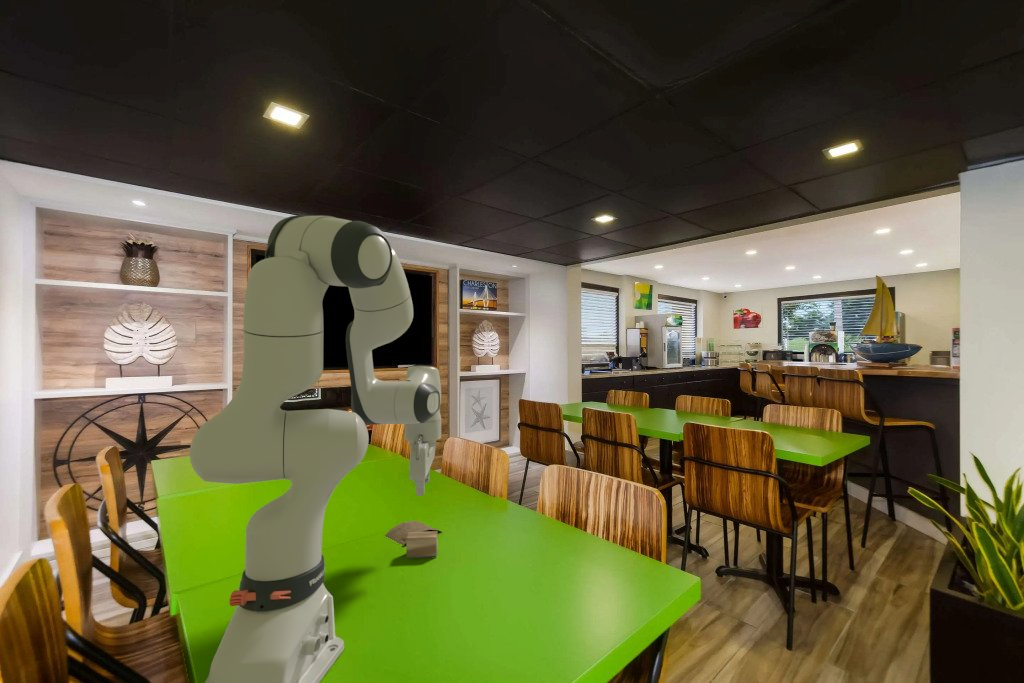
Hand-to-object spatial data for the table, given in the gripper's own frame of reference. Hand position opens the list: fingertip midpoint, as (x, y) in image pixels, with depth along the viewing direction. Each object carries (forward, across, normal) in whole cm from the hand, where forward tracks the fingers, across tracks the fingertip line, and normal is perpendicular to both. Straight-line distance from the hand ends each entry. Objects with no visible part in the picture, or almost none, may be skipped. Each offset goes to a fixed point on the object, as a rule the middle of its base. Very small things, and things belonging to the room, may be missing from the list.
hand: (422, 488), depth 107 cm
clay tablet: (+17, +13, +4) cm, 21 cm away
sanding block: (+16, 0, 0) cm, 16 cm away
